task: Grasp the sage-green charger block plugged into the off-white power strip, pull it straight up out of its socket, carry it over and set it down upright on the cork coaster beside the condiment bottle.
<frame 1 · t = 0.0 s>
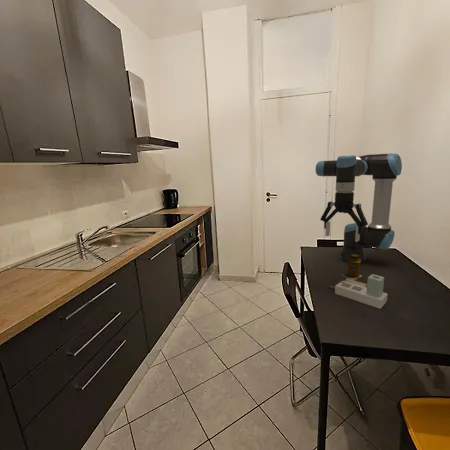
hand: (341, 238, 119), 28 cm above the table, fingers open, 13 cm apart
condiment: (352, 276, 144), on the table
charger: (374, 298, 117), point 2 cm above the table, touching power strip
power strip: (359, 297, 122), on the table
cork coaster: (353, 285, 133), on the table
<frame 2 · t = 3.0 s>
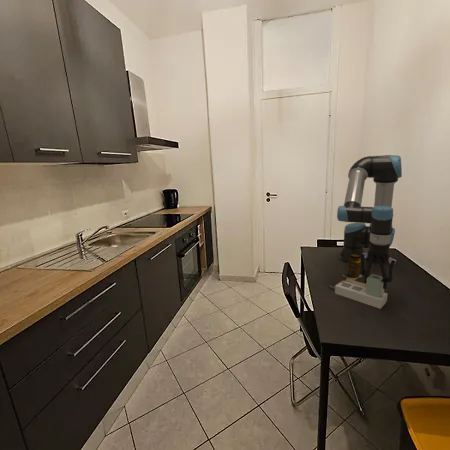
hand: (374, 292, 116), 5 cm above the table, fingers closed on charger, 5 cm apart
charger: (374, 298, 117), point 2 cm above the table, touching gripper, power strip
everything else where it was.
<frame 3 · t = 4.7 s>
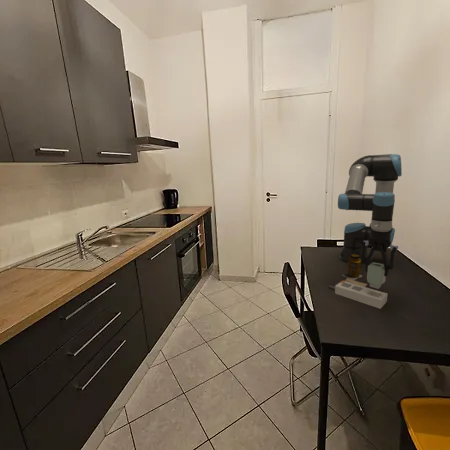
hand: (375, 280, 115), 11 cm above the table, fingers closed on charger, 5 cm apart
charger: (375, 286, 116), point 8 cm above the table, touching gripper
everything else where it was.
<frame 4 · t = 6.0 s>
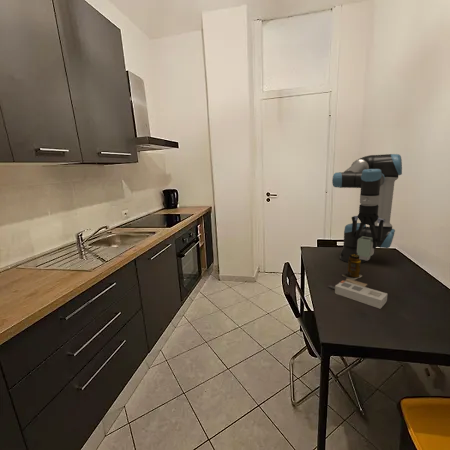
hand: (365, 253, 122), 20 cm above the table, fingers closed on charger, 5 cm apart
charger: (364, 258, 123), point 17 cm above the table, touching gripper
everything else where it was.
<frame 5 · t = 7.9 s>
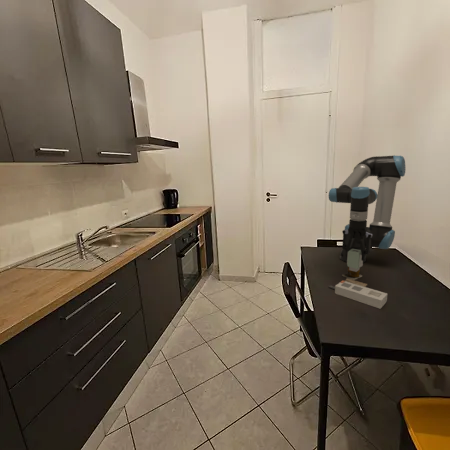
hand: (354, 264, 130), 11 cm above the table, fingers closed on charger, 5 cm apart
charger: (354, 269, 131), point 9 cm above the table, touching gripper
everything else where it was.
when the fingers open (4 cm above the table, at t = 9.3 s): charger drops 1 cm, resting on cork coaster.
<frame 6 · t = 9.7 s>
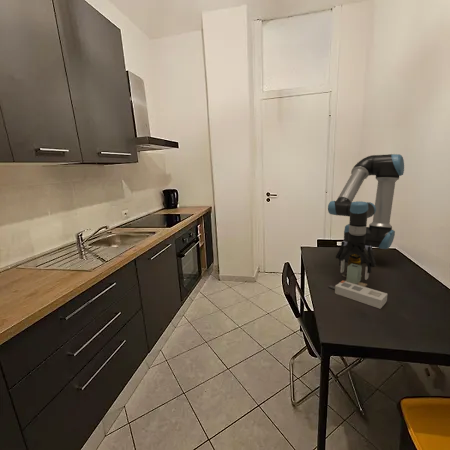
hand: (354, 275, 132), 6 cm above the table, fingers open, 11 cm apart
charger: (353, 284, 133), point 1 cm above the table, touching cork coaster
everything else where it was.
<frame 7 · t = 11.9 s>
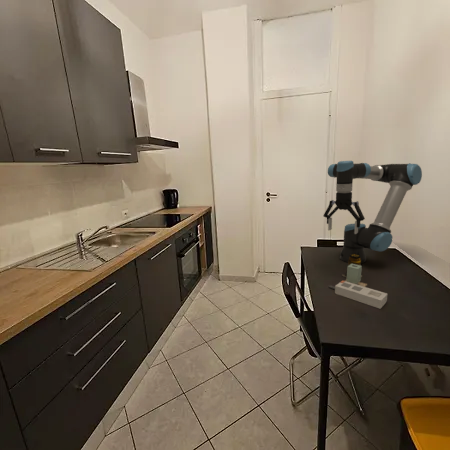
hand: (342, 231, 139), 25 cm above the table, fingers open, 13 cm apart
nothing on the table moved.
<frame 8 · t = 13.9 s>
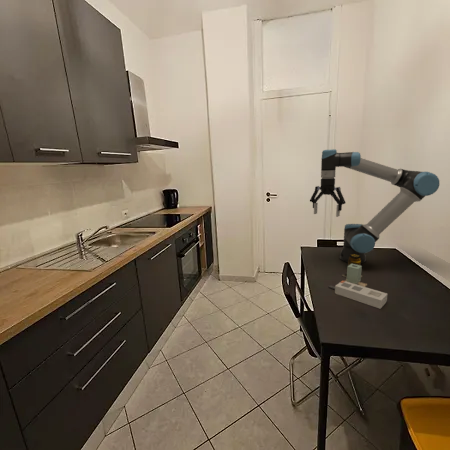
hand: (326, 215, 152), 32 cm above the table, fingers open, 13 cm apart
nothing on the table moved.
at the end: charger inside the target area on the cork coaster (0.0 cm from its centre), point 0.6 cm above the cork coaster's base; charger tilted 0°; the gripper is holding nothing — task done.
